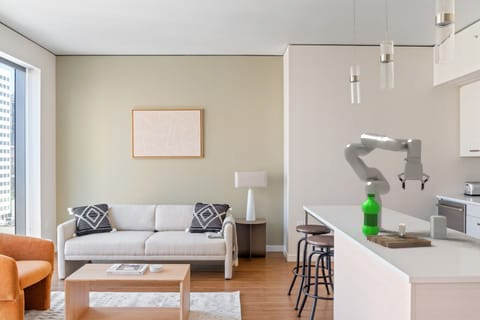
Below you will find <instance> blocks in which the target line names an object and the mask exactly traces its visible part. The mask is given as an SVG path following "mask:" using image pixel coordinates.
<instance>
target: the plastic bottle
mask: <svg viewBox="0 0 480 320" xmlns="http://www.w3.org/2000/svg"><path fill="white" fill-rule="evenodd" d="M367 197H368V200H367V201H366V200H365V201H364V202H363V203H362V204H361V211H362V212H363V225H362V227H361V230H362V233H363V235H364V236H365V237H367V235H379V233H380V232H379V228H378V226H377V222H378V213H379V212H380V206H379V204H378V203H377V202H376V201H375V200H374V197H375V194H370V193H369V194H367Z"/></svg>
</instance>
